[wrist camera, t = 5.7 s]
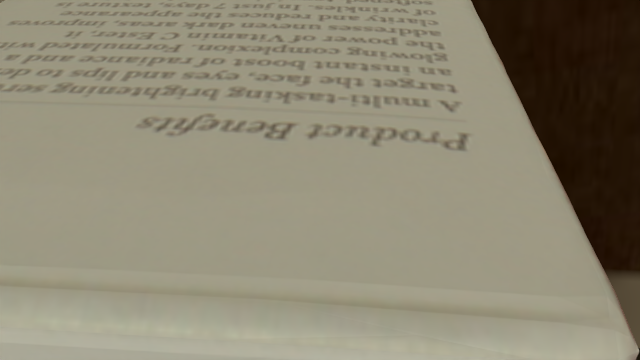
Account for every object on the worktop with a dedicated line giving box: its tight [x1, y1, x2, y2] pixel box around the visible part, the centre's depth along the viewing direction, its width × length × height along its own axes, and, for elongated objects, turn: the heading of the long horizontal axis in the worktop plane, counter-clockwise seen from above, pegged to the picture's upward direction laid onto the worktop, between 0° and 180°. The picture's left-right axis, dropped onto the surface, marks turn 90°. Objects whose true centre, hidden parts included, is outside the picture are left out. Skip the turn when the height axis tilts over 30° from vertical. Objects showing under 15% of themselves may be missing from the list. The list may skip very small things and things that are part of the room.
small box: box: [0, 0, 639, 360], centre depth 9 cm, size 8×6×10 cm
